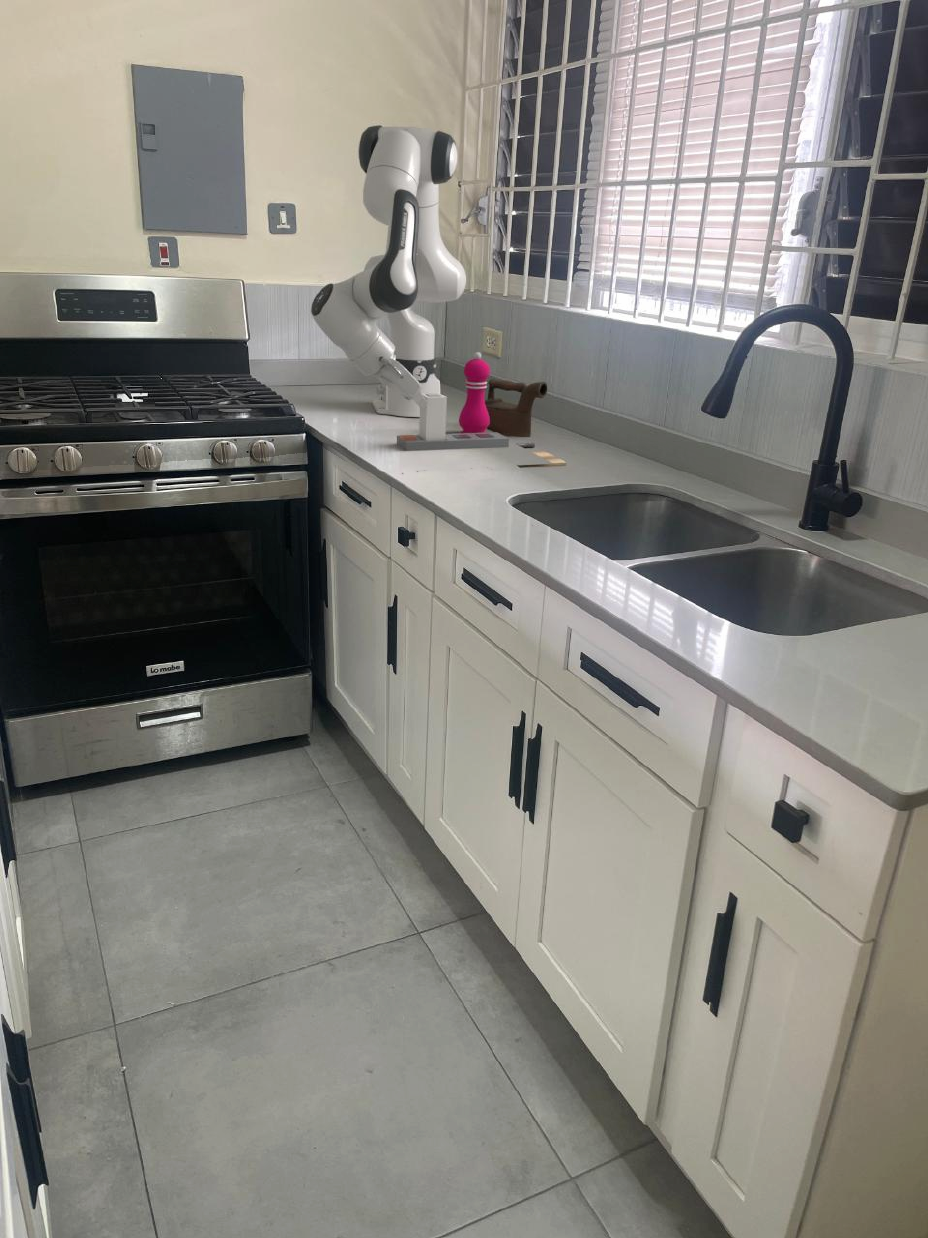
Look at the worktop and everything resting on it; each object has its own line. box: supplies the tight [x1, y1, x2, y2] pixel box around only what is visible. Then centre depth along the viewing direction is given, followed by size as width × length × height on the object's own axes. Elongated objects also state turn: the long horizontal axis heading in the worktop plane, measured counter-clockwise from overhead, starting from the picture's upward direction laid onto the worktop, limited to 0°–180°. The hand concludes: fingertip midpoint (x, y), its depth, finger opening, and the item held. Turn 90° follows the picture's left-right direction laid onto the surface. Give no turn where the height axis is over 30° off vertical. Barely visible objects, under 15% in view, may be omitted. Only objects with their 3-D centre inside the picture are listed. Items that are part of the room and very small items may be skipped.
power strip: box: [396, 431, 536, 452], centre depth 209 cm, size 7×32×4 cm, turn 111°
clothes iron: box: [484, 378, 548, 438], centre depth 226 cm, size 8×16×13 cm, turn 51°
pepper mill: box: [458, 351, 491, 434], centre depth 216 cm, size 7×7×20 cm
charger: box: [418, 393, 448, 441], centre depth 204 cm, size 4×4×11 cm
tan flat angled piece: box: [516, 450, 568, 468], centre depth 203 cm, size 11×11×1 cm
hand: (417, 401), depth 201 cm, fingers open, 8 cm apart
